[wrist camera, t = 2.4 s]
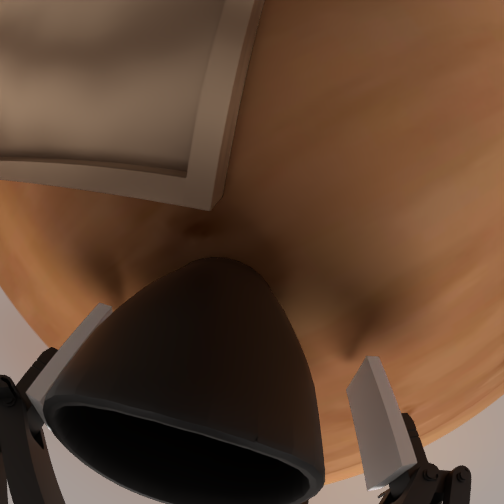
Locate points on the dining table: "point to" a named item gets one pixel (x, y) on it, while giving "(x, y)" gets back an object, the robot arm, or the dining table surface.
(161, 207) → the dining table surface
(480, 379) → the dining table surface
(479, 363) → the dining table surface
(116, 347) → the mug
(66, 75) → the tray
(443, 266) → the dining table surface
